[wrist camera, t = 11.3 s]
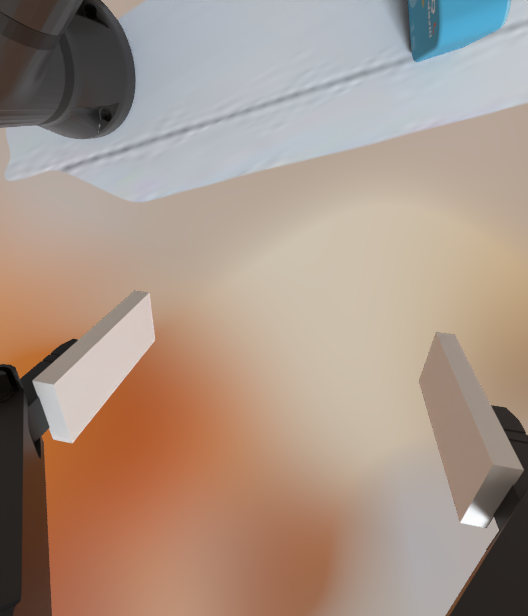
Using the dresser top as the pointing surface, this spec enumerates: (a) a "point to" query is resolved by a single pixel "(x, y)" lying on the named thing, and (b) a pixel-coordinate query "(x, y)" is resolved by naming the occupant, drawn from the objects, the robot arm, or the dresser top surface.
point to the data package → (452, 24)
